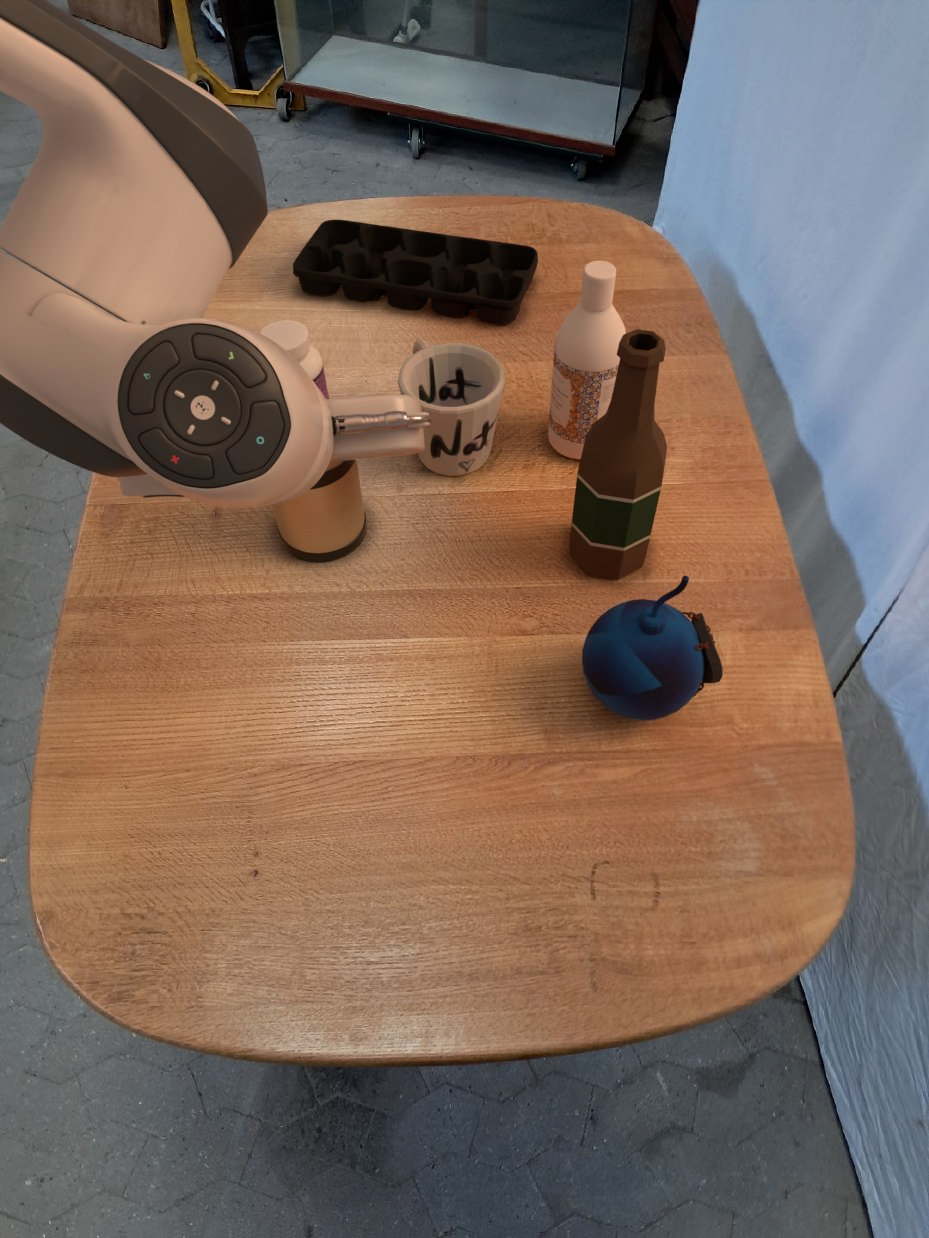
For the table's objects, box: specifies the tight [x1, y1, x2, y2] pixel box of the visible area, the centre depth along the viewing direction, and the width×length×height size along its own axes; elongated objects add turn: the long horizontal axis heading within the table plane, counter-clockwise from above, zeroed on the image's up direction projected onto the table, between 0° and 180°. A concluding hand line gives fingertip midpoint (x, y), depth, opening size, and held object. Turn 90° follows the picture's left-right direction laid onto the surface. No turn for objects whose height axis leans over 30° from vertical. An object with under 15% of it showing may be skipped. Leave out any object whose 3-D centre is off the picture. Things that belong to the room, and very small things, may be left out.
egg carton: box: [292, 219, 539, 325], centre depth 112 cm, size 18×30×4 cm, turn 86°
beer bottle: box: [568, 328, 668, 581], centre depth 77 cm, size 8×8×24 cm
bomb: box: [581, 575, 724, 722], centre depth 72 cm, size 10×11×15 cm
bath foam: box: [547, 260, 627, 460], centre depth 88 cm, size 7×7×20 cm
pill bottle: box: [258, 319, 330, 399], centre depth 75 cm, size 5×5×10 cm
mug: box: [397, 338, 506, 477], centre depth 93 cm, size 10×15×10 cm
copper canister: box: [271, 459, 368, 563], centre depth 84 cm, size 9×9×13 cm
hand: (287, 443), depth 68 cm, fingers open, 8 cm apart
